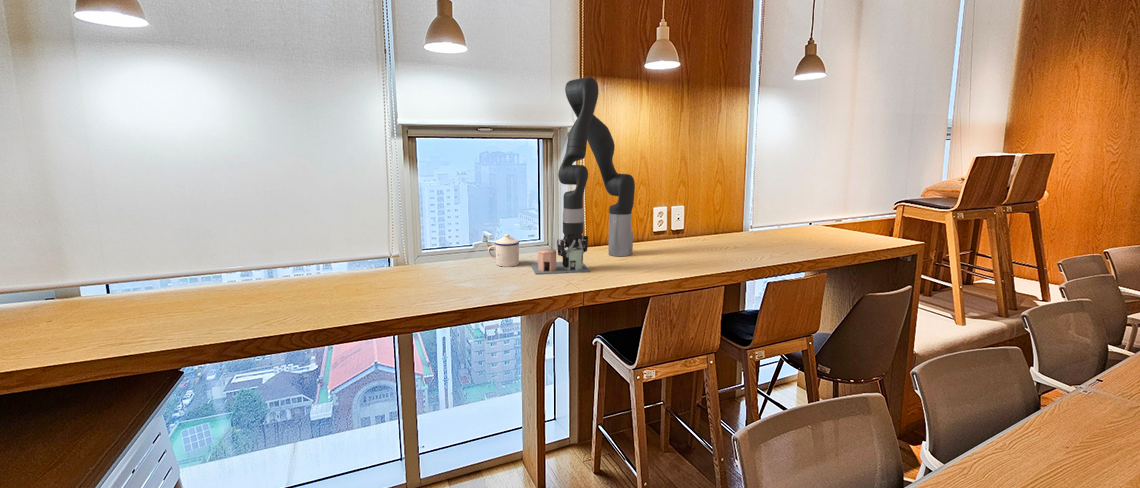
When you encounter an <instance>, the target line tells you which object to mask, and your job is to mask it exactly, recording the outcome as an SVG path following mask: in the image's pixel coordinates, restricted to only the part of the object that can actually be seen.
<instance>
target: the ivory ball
mask: <svg viewBox="0 0 1140 488" xmlns="http://www.w3.org/2000/svg"><path fill="white" fill-rule="evenodd" d="M575 266H576V261H570V268H575Z"/></svg>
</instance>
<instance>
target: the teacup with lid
mask: <svg viewBox="0 0 1140 488" xmlns="http://www.w3.org/2000/svg"><path fill="white" fill-rule="evenodd" d="M519 245H520V241H519V240H518V239H515V238H514V237H512V236H510V234H509V233H507V234H506V233H505V234H504V236H503V237H500V239H496V240H495V243H494V245H490V246H489V247H488V248H487V253H488V255H489V257H490V258H492V259H495V264H496V266H497V267H501V266H502V267H501V268H509V267H510V268H513V267H518V265H519V263H520V260H519V259H520V254H519V252H520V250H519V249H520V247H519ZM491 248H495V255H493V254H492V253H491ZM512 266H513V267H512Z"/></svg>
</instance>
